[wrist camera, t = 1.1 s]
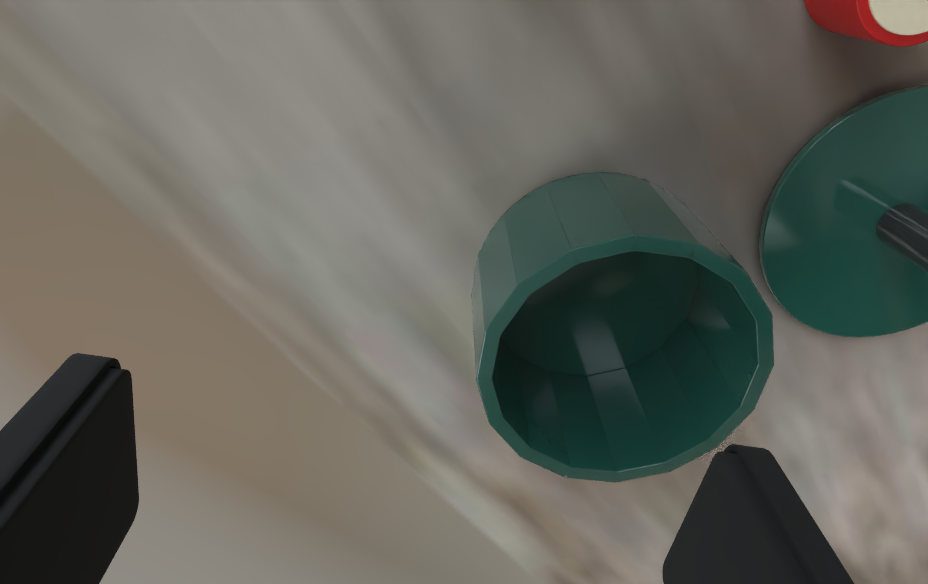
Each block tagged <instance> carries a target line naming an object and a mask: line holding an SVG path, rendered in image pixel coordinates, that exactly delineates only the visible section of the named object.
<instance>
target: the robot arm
mask: <svg viewBox="0 0 928 584" xmlns="http://www.w3.org/2000/svg"><path fill="white" fill-rule="evenodd" d="M135 444H136V443H135V426H134V410H133V393H132V378H131V373H130V372H129V371H128V370H124V369H121V367H120V363H119V362H118V360H117V359H115V358H109V357H102V356H94V355H87V354H80V353H77V354H73V355H72V356H70V357H69V358H68V359H67V360H66V361H65V362H64V363H63V364H62V365H61V366H60V368H59V369H58V370H57V371H56V372H55V373H54V374H53V375H52V376H51V377H50V378H49V379H48V380H47V381H46V382H45V384H44V385H43V386H42V387H41V388H40V389H39V390H38V391H37V392H36V393H35V394H34V396H32V397H31V399H30V400H29V401H28V402H27V403H26V404H25V405H24V406H23V407H22V408H21V409H20V410H19V411H18V412H17V414H16V415H15V416H14V417H13V418H12V419H11V420H10V421H9V422H8V423H7V424H6V425H5V426H4V427H3V429H2V430H1V431H0V584H99V583H100V581H101V579H102V577H103V575H104V574H105V572H106V570H107V568H108V566H109V565H110V563H111V561H112V559H113V558H114V556H115V554H116V552H117V550H118V548H119V547H120V545H121V543H122V541H123V540H124V538H125V535H126V534H127V532H128V531H129V529H130V527H131V525H132V523H133V521H134V519H135V516H136V512H137V508H138V503H139V493H138V476H137V459H136V445H135ZM663 582H664V584H854V583H853V581H852V579H851V578H850V576H849V575H848V573H847V571H846V570H845V568H844V567H843V565H842V564H841V562H840V560H839V559H838V557H837V556H836V554H835V553H834V551H833V549H832V548H831V546H830V545H829V543H828V541H827V540H826V538H825V537H824V535H823V534H822V532H821V530H820V529H819V527H818V526H817V524H816V523H815V521H814V519H813V518H812V516H811V515H810V513H809V511H808V510H807V508H806V507H805V505H804V504H803V502H802V500H801V499H800V497H799V496H798V494H797V493H796V491H795V489H794V488H793V486H792V485H791V483H790V481H789V480H788V478H787V477H786V475H785V474H784V472H783V470H782V469H781V467H780V466H779V464H778V462H777V461H776V459H775V458H774V456H773V455H772V454H771V452H770V451H769V450H766V449H764V448H757V447H749V446H742V445H735V444H733V445H729V446H728V447H727V448H726V449H725V450H724V452H718V453H716V454H715V456H714V457H713V459H712V461H711V464H710V466H709V468H708V470H707V472H706V474H705V476H704V478H703V480H702V483H701V485H700V487H699V489H698V491H697V493H696V495H695V497H694V499H693V502H692V504H691V506H690V508H689V510H688V512H687V514H686V516H685V518H684V521H683V523H682V525H681V527H680V529H679V531H678V533H677V535H676V538H675V540H674V542H673V544H672V546H671V548H670V550H669V552H668V554H667V557H666V559H665V561H664V565H663Z"/></svg>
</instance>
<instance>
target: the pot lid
mask: <svg viewBox="0 0 928 584" xmlns="http://www.w3.org/2000/svg"><path fill="white" fill-rule="evenodd" d="M759 257H760V265H761V269H762V272H763V276H764V279H765V281H766V283H767V285H768V288H769V290H770V292H771V293H772V294H773V296H774V297H775V299H776V300H777V301H778V303H779V304H780V305H781V306H782V307H783V308H784V309H785V310H786V311H787V312H788V313H789V314H790V315H791V316H793V317H794V318H796V319H797V320H798V321H800V322H801V323H803V324H805V325H807V326H809V327H811V328H813V329H816V330H819V331H822V332H825V333H828V334H833V335H838V336H845V337H873V336H880V335H887V334H892V333H896V332H900V331H904V330H907V329H910V328H913V327H916V326H918V325H921V324H924V323H926V322H928V85H920V86H915V87H909V88H904V89H900V90H896V91H893V92H890V93H887V94H883V95H880V96H878V97H876V98H874V99H871V100H869V101H867V102H864V103H862V104H860V105H858V106H857V107H855V108H853V109H851V110H850V111H848V112H846V113H844V114H843V115H841V116H840V117H838V118H837V119H836V120H834V121H833V122H831V123H830V124H828V125H827V126H826V127H825V128H823V129H822V130H821V131H820V132H819V133H818V134H817V135H815V136H814V137H813V138H812V139H811V140H810V141H809V142H808V143H807V144H806V145H805V146H804V147H803V148H802V149H801V150H800V151H799V153H798V154H797V155H796V156H795V157H794V159H793V160H792V161H791V163H790V164H789V165H788V166H787V168H786V169H785V170H784V172H783V174H782V175H781V177H780V179H779V180H778V182H777V184H776V185H775V187H774V189H773V192H772V194H771V196H770V198H769V200H768V203H767V206H766V209H765V212H764V215H763V218H762V223H761V229H760V235H759Z"/></svg>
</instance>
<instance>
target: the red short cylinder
mask: <svg viewBox="0 0 928 584" xmlns="http://www.w3.org/2000/svg"><path fill="white" fill-rule="evenodd" d="M804 1H805V5H806V8H807V10H808V12H809V14H810V16H811V17H812V18H813V20H814V21H815V22H816V23H817V24H818V25H819V26H821V27H822V28H824V29H826V30H828V31H831V32H835V33H839V34H844V35H848V36H852V37H857V38H861V39H865V40H870V41H874V42H879V43H883V44H887V45H892V46H911V45H916V44H919V43H922V42H925V41H928V0H804Z"/></svg>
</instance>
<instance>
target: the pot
mask: <svg viewBox="0 0 928 584" xmlns="http://www.w3.org/2000/svg"><path fill="white" fill-rule="evenodd" d="M471 297H472V314H473V332H474V350H475V367H476V381H477V385H478V388H479V391H480V395H481V398H482V401H483V405H484V408H485V411H486V414H487V418H488V421H489V423H490V425H491V426H492V427H493V428H494V429H495V430H496V431H497V432H498V433H499V434H500V436H501V437H502V438H503V439H504V440H505V441H506V442H507V443H508V444H509V445H510V446H511V447H512V448H513V449H514V450H515V452H516V453H517V454H518V455H519V456H520V457H522V458H524V459H526V460H528V461H530V462H532V463H535V464H537V465H539V466H541V467H543V468H546V469H548V470H550V471H552V472H554V473H557V474H559V475H561V476H563V477H566V478H575V479H586V480H596V481H606V482H621V481H626V480H631V479H636V478H641V477H646V476H651V475H657V474H662V473H667V472H670V471H672V470H674V469H676V468H678V467H680V466H682V465H684V464H686V463H688V462H690V461H692V460H694V459H695V458H697V457H699V456H701V455H703V454H705V453H707V452H709V451H711V450H713V449H715V448H716V447H718V446H719V445H720V444H721V443H722V442H723V441H724V440H725V439H726V438H727V437H728V436H729V435H730V433H731V432H732V431H733V430H734V429H735V428H736V427H737V426H738V425H739V424H740V423H741V422H742V421H743V420H744V419H745V418H746V417H747V416H748V415H749V414H750V413H751V412H752V411H753V410H754V409H755V406H756V404H757V402H758V400H759V397H760V395H761V393H762V391H763V388H764V386H765V384H766V381H767V379H768V377H769V375H770V372H771V370H772V368H773V366H774V350H773V322H772V313H771V312H770V310H769V308H768V307H767V305H766V303H765V302H764V300H763V298H762V297H761V295H760V293H759V292H758V290H757V288H756V287H755V285H754V283H753V282H752V280H751V279H750V277H749V275H748V274H747V272H746V271H745V270H744V269H743V268H742V266H741V265H740V264H739V263H738V262H737V261H736V260H735V259H734V258H733V256H732V255H731V254H730V253H729V252H728V251H727V250H726V249H725V248H724V247H723V245H722V244H721V243H720V242H719V241H718V240H717V239H716V238H715V237H714V235H713V234H712V233H711V232H710V231H709V230H708V229H707V228H706V227H705V225H704V224H703V223H702V222H701V221H700V220H699V219H698V218H697V217H696V215H695V214H694V213H693V212H692V211H691V210H690V209H689V208H688V207H687V206H686V205H685V203H683V202H681V201H680V200H678V199H677V198H675V197H674V196H672V195H671V194H670V193H668V192H667V191H665V190H664V189H663V188H661V187H659V186H657V185H655V184H653V183H651V182H649V181H648V180H645V179H640V178H638V177H635V176H630V175H625V174H620V173H608V172H596V173H584V174H578V175H573V176H568V177H565V178H562V179H559V180H555V181H553V182H550V183H548V184H546V185H544V186H542V187H539V188H537V189H536V190H534V191H532V192H531V193H529V194H527V195H526V196H524V197H523V198H522V199H520V200H519V201H518V202H517V203H515V204H514V205H513V206H512V207H510V208H509V209H508V211H507V212H506V213H505V214H504V215H503V216H502V217H501V218H500V219H499V220H498V221H497V223H496V224H495V225H494V227H493V228H492V229H491V231H490V233H489V234H488V236H487V238H486V240H485V241H484V243H483V245H482V248H481V250H480V251H479V254H478V258H477V262H476V267H475V271H474V281H473V288H472V293H471Z"/></svg>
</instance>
